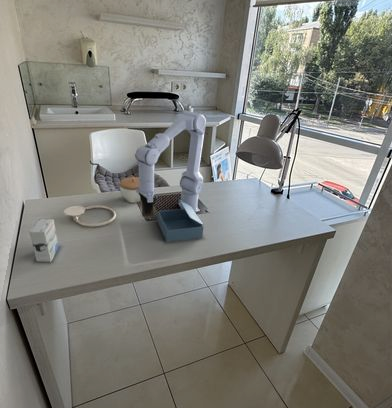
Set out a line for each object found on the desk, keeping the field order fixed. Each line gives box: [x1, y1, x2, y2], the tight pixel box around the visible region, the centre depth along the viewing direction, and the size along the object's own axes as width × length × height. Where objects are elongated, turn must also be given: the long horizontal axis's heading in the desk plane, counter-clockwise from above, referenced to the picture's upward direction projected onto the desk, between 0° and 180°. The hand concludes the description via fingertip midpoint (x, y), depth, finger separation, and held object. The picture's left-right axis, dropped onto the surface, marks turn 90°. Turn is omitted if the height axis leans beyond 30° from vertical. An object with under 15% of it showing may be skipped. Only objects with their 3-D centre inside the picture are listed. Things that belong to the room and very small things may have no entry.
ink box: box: [29, 218, 59, 263], centre depth 98 cm, size 8×5×12 cm, turn 5°
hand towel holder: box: [63, 204, 117, 228], centre depth 123 cm, size 17×4×21 cm
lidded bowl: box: [119, 176, 140, 204], centre depth 139 cm, size 13×13×11 cm
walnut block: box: [139, 197, 154, 217], centre depth 116 cm, size 4×4×6 cm
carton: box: [157, 208, 204, 243], centre depth 120 cm, size 16×15×5 cm
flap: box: [178, 198, 204, 226], centre depth 119 cm, size 16×7×1 cm
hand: (146, 210), depth 117 cm, fingers closed on walnut block, 4 cm apart
